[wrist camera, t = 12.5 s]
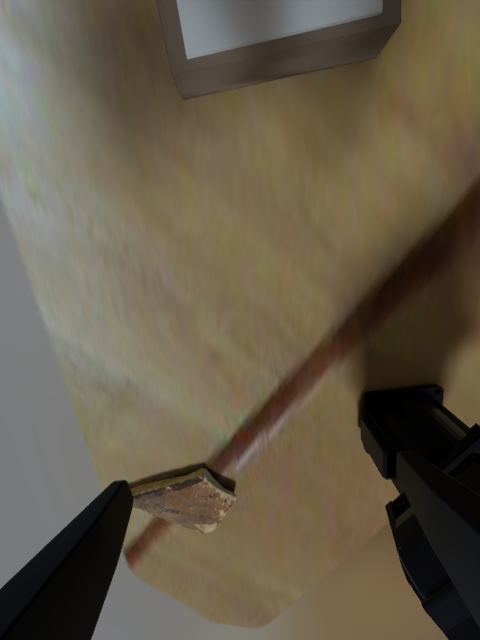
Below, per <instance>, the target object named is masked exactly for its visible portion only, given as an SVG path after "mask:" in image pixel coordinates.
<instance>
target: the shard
mask: <svg viewBox="0 0 480 640" xmlns="http://www.w3.org/2000/svg"><path fill="white" fill-rule="evenodd" d="M130 490H131V492H132V495H133V499H134V502H133V507H134V508H139V509H141V510H143V511H146V512H148V513H150V514H152V515H153V516H156V517H158V518H161V519H164V520H167V521H169V522H171V523H174V524H177V525H181V526H183V527H185V528H189V529H193V530H197V531H200V532H202V533H207V532H211V531H212V530H213V529H215V528H216V527H217V526H218V524H219V523H220V522H221V520H222V518H223V517H224V516H225V514H226V513H227V511H228V510H229V509H230V508H231V506H232V505H233V504H234V503H235V500H236V494H235V493H234V492H232V491H230V490H227V489H225V488H223V486H221V485H220V484H219V483H218V482H217V481H216V480H215V479H214V478H213V477H212V475H211V474H210V473H209V472H208V470H207V469H206V468H200V469H199V470H197V471H195V472H192V473H190V474H189V475H186V476H180V477H175V478H171V479H164V480H160V481H156V482H151V483H148V484H143V485H139V486H137V487H135V488H132V489H130Z"/></svg>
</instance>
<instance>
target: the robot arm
mask: <svg viewBox="0 0 480 640" xmlns="http://www.w3.org/2000/svg"><path fill="white" fill-rule="evenodd" d="M435 390H436V391H435ZM443 393H444V390H443V388H442V387H441V386H439V385H437V384H431V385H423V386H414V387H406V388H398V389H389V390H381V391H373V392H367V393H365V394H364V395H363V415H362V416H361V440H362V442H363V444H364V449H365V451H366V452H367V453H368V454H370V456H371V458H372V459H373V461H374V463H375V465H376V466H377V468H378V470H379V472H380V473H381V475H382V477H383V478H385V479H386V480H388V479H391V480H392V482H393V484H394V485H395V487H396V489H397V490H398V492H399V494H400V495H399V496H398V497H397V498H396V499H395V500H394V501H393V502H392V501H390V502H389V503H388V504H387V505H386V506H385V507H386V511H387V515H388V518H389V522H390V526H391V529H392V533H393V537H394V540H395V544H396V548H397V551H398V555H399V559H400V562H401V565H402V568H403V571H404V573H405V576H406V579H407V581H408V583H409V584H410V585H411V586H412V588H413V590H414V592H415V593H416V595H417V596H418V598H419V599H420V601H421V603H422V607H423V608H424V610H425V611H426V613H427V614H428V615H429V616H430V617H431V618H432V620H433V621H434V622H435V623H436V624H437V626H438V627H439V628H440V629H441V630H442V631H443V633H444V634H445V635H446V637H447V638H448V640H480V425H478V424H477V423H476V424H475V425H474V426H472V427H471V428H469V427H468V426H467V425H466V424H464V423H463V422H462V421H461V420H460V419H459V418H457V417H456V416H455V415H454V414H453V413H451V412H450V411H449V410H448V409H447V408H445V407H444V406H443V405H442V404H443ZM369 397H371V398H370V399H368V398H369ZM133 502H134V499H133V495H132V492H131V490H130V487H129V485H128V482H127V481H126V480H119V481H114V482H112V483H111V484H110V485H109V486H108V487H107V488H106V489H105V490H104V491H103V492H102V493H101V494H100V495H99V496H97V498H95V499H94V500H93V501H92V502H91V503H90V504H89V505H88V506H87V507H86V508H85V509H84V510H83V511H82V512H81V513H80V514H79V515H78V516H77V517H75V518H74V519H73V520H72V521H71V522H70V523H69V524H68V525H67V526H66V527H65V528H64V529H63V530H62V531H61V532H60V533H59V534H58V535H57V536H55V537H54V539H52V540H51V541H50V542H49V543H48V544H47V545H46V546H45V547H44V548H43V549H42V550H41V551H40V552H39V553H38V554H37V555H36V556H34V557H33V558H32V559H31V560H30V561H29V562H28V563H27V564H26V565H25V566H24V567H23V568H22V569H21V570H20V571H19V572H18V573H17V574H16V575H15V576H13V577H12V578H11V579H10V580H9V581H8V582H7V583H6V584H5V585H4V586H3V587H2V588H1V589H0V640H91V638H92V635H93V633H94V630H95V627H96V624H97V621H98V618H99V615H100V613H101V610H102V607H103V604H104V601H105V598H106V595H107V592H108V590H109V586H110V584H111V581H112V578H113V575H114V572H115V569H116V566H117V563H118V560H119V557H120V553H121V549H122V546H123V542H124V538H125V534H126V530H127V526H128V523H129V519H130V515H131V511H132V507H133Z"/></svg>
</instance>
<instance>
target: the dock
mask: <svg viewBox="0 0 480 640" xmlns="http://www.w3.org/2000/svg"><path fill="white" fill-rule="evenodd" d="M157 3H158V8H159V14H160V19H161V24H162V29H163V34H164V39H165V44H166V49H167V54H168V59H169V64H170V69H171V75H172V77H173V79H174V81H175V84H176V86H177V88H178V90H179V92H180V94H181V97H182V99H183V100H185V99H190V98H194V97H199V96H203V95H208V94H213V93H217V92H222V91H226V90H231V89H235V88H240V87H244V86H249V85H254V84H258V83H263V82H267V81H272V80H276V79H281V78H285V77H290V76H294V75H299V74H304V73H308V72H313V71H317V70H322V69H326V68H331V67H335V66H340V65H345V64H349V63H354V62H358V61H363V60H367V59H372V58H376V57H377V56H378V55H379V53H380V52H381V50H382V49H383V47H384V46H385V45H386V43H387V42H388V40H389V39H390V37H391V36H392V35H393V33H394V32H395V30H396V29H397V28H398V26H399V25H400V23H401V0H157Z"/></svg>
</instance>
